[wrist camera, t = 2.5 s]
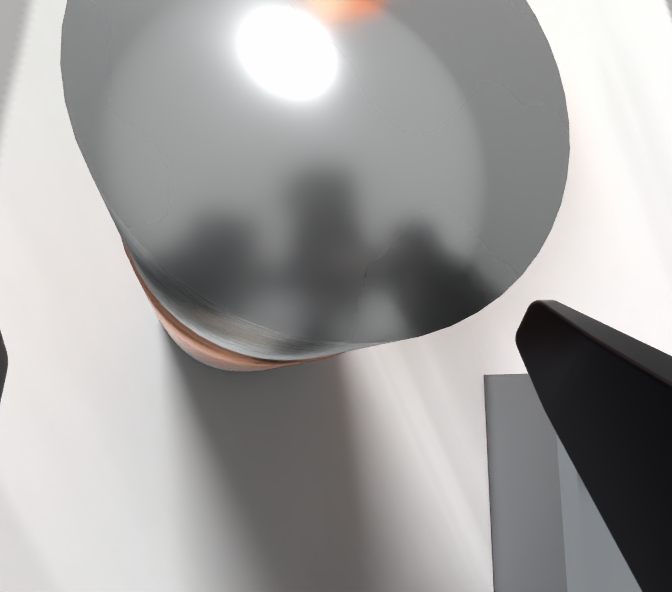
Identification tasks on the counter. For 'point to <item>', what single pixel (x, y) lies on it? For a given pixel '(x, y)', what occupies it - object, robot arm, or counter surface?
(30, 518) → the counter surface
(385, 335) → the steel tin
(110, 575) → the counter surface
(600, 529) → the grey rectangular tray
